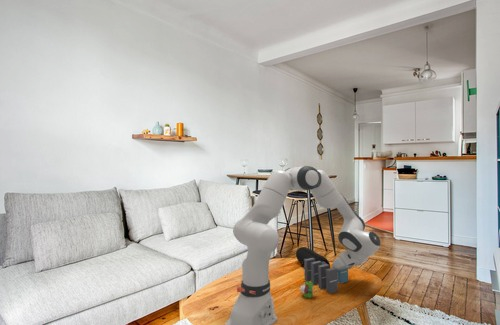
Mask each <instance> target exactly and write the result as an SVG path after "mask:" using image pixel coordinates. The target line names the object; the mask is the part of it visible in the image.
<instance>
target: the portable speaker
mask: <svg viewBox="0 0 500 325" xmlns="http://www.w3.org/2000/svg"><path fill="white" fill-rule="evenodd" d="M295 257H296V259H297V261H298V262H300V263H301V264H302V265H304V260H305V259H309V258H314V259H315V262H316V261H321V262H322V265H324V264H328V265H329V269H330V268H331V264H330V262H329V260H328V259H327V258H326V257H325V256H323V255H321V254H319V253H317V252H316V251H314V250H312V249H310V248H309V247H307V246H306V247H305V246H302V247H298V248H297V249H296V252H295Z"/></svg>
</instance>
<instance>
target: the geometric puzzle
mask: <svg viewBox="0 0 500 325" xmlns="http://www.w3.org/2000/svg"><path fill="white" fill-rule="evenodd" d="M299 289H300V291H301V292H302V293H303V294H302V296H303V297H305V298H309V299H312V298H313V297H314V295H315V294H314V293H317V289H316V288H315V287H314V285H313V283H311V281H306V280H304V284H301V286H300V287H299ZM313 294H314V295H313Z"/></svg>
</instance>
